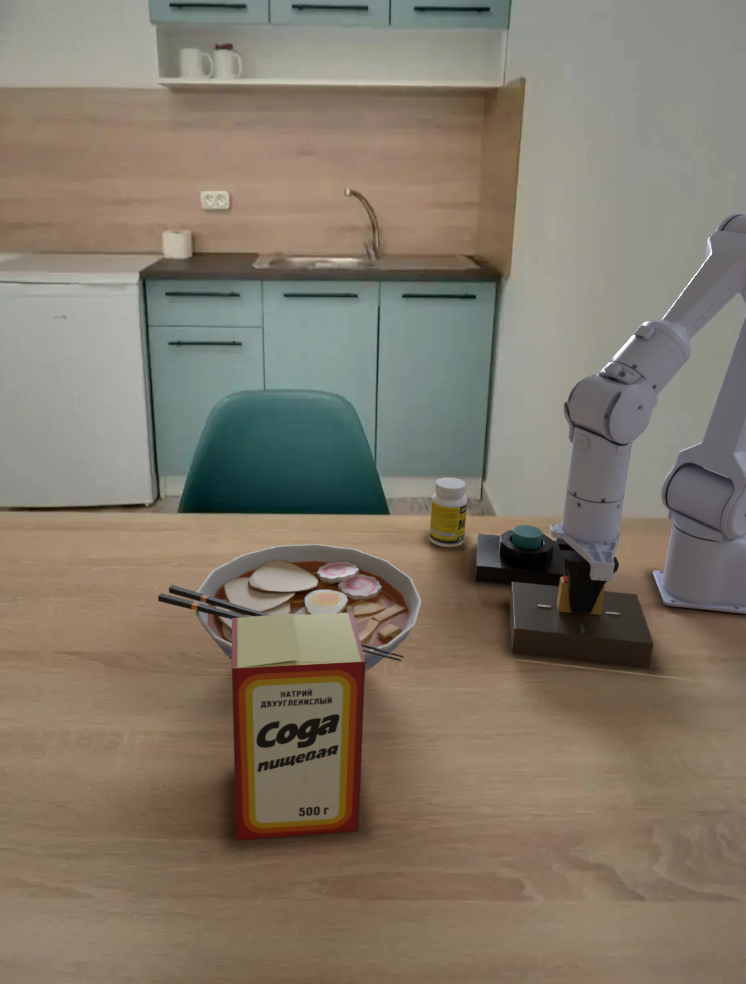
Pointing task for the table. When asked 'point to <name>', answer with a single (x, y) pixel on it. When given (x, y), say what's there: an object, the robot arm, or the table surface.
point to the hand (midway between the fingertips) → (578, 606)
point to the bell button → (527, 536)
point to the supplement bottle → (448, 513)
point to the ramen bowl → (308, 593)
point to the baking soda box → (297, 724)
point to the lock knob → (563, 598)
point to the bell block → (517, 561)
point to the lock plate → (579, 628)
